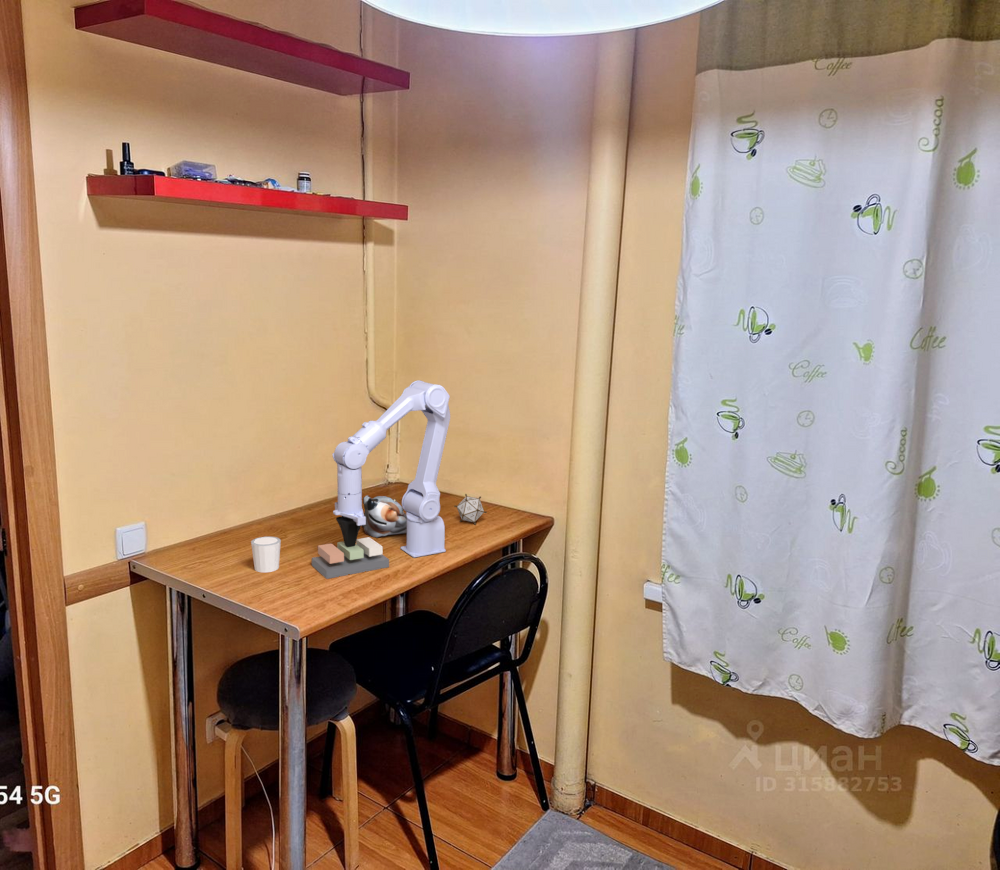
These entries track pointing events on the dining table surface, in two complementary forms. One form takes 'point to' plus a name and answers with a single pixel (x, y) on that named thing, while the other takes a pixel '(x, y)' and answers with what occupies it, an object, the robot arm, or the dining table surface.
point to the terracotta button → (330, 553)
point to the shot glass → (266, 553)
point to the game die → (470, 509)
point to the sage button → (351, 551)
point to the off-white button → (370, 546)
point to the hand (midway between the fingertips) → (350, 545)
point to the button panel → (349, 565)
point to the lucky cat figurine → (383, 516)
